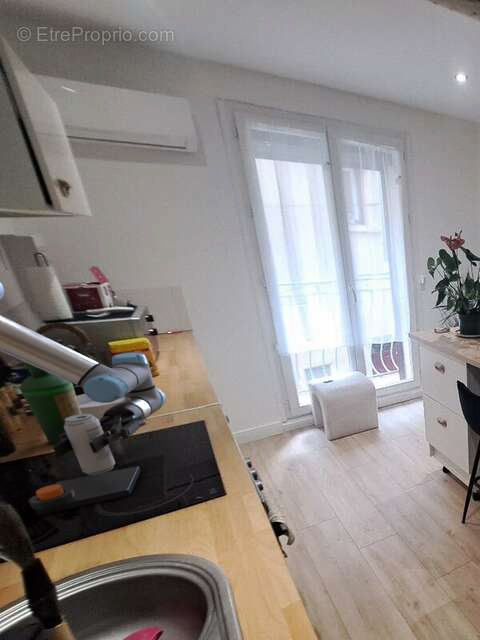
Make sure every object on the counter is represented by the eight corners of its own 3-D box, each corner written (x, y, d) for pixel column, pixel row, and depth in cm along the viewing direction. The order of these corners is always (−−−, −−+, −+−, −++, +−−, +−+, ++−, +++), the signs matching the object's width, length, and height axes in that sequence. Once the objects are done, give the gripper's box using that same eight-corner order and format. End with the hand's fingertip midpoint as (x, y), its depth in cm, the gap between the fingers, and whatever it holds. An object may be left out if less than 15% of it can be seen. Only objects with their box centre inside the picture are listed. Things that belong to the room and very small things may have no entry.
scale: (30, 519, 94) (23, 506, 93) (53, 488, 106) (48, 477, 105) (129, 497, 103) (124, 485, 102) (140, 471, 115) (136, 460, 113)
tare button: (36, 502, 95) (32, 495, 94) (43, 494, 98) (39, 487, 97) (61, 497, 97) (57, 490, 96) (66, 489, 100) (63, 482, 99)
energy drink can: (96, 465, 108) (75, 413, 103) (122, 463, 109) (102, 411, 104) (76, 476, 103) (53, 422, 97) (104, 475, 104) (83, 421, 98)
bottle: (96, 437, 133) (63, 354, 124) (48, 449, 125) (8, 361, 115) (88, 429, 139) (56, 348, 129) (41, 440, 131) (3, 355, 121)
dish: (137, 414, 151) (133, 402, 150) (53, 425, 141) (47, 412, 139) (153, 396, 169) (149, 384, 168) (79, 404, 159) (74, 392, 157)
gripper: (80, 405, 114) (15, 441, 94) (163, 399, 120) (119, 430, 100) (90, 430, 117) (29, 469, 97) (170, 422, 123) (129, 457, 103)
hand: (75, 449), depth 98 cm, fingers closed on energy drink can, 6 cm apart
